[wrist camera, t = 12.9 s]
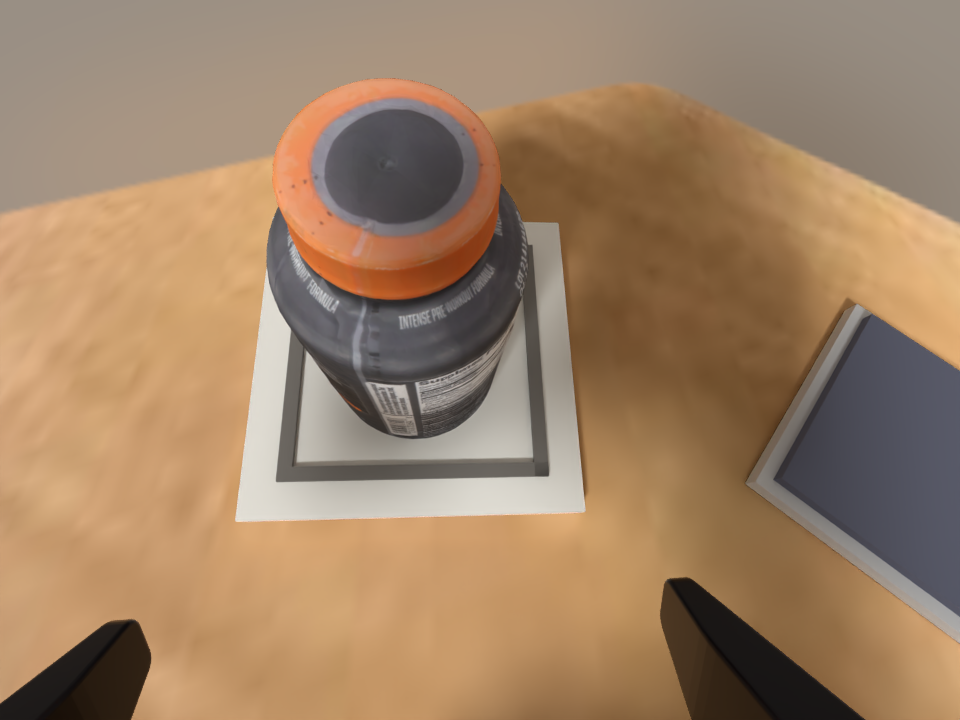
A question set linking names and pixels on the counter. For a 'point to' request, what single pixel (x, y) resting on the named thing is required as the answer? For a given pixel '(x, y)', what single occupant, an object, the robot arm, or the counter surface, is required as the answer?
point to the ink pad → (876, 462)
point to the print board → (429, 461)
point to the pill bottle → (397, 252)
